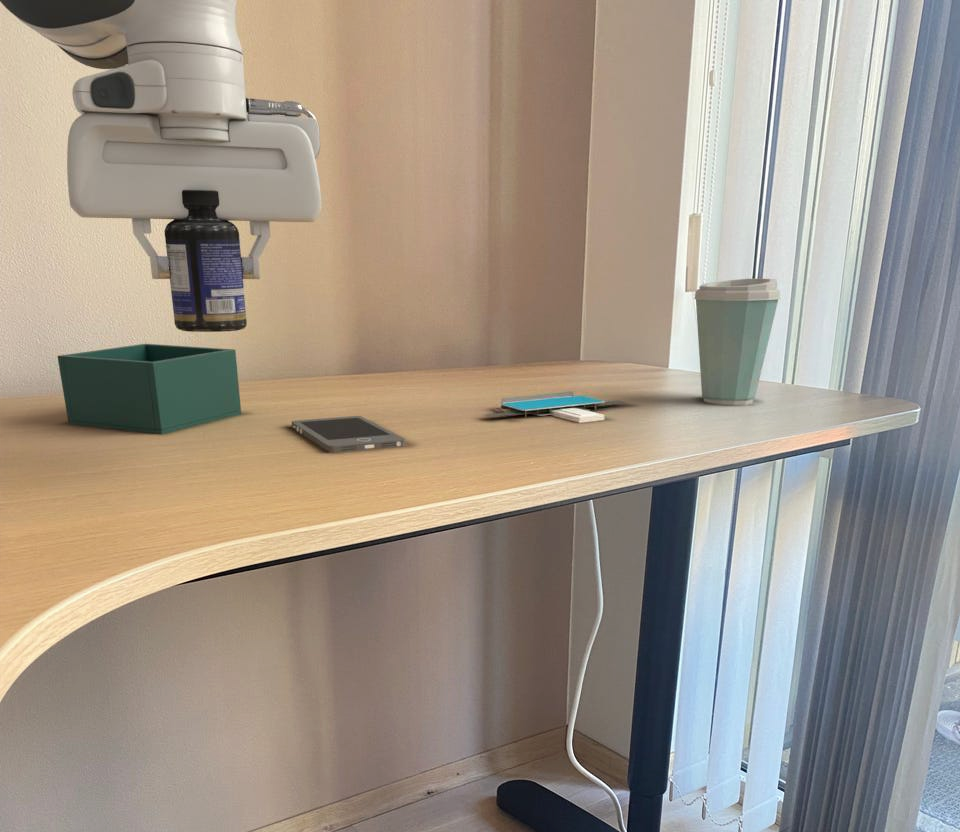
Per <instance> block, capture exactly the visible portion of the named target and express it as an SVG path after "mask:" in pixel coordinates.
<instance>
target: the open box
mask: <svg viewBox="0 0 960 832" xmlns="http://www.w3.org/2000/svg"><path fill="white" fill-rule="evenodd" d="M57 363H58V369H59V374H60V375H59V376H60V380H61V386H62V392H63V398H64V404H65V405H64V406H65V411H66V416H67V423H68V425H75V426H83V427H84V426H85V427H94V428H103V429H111V430H121V431H129V432H130V431H131V432H138V433H146V434H148V433H149V434H156V435H165V434H168V433H172V432H176V431H180V430H184V429H189V428H192V427H196V426H199V425H200V426H201V425H204V424H208V423H211V422H216V421H220V420H223V419H228V418H231V417H236V416H239V415H242V406H241V405H242V404H241V396H240V384H239V374H238V365H237V354H236V349H232V348H230V349H229V348H219V347H217V348H216V347H204V346H203V347H202V346H188V345H187V346H186V345H171V344H156V343H139V344H133V345H132V344H131V345H126V346H119V347H111V348H104V349H103V348H102V349H96V350H89V351H81V352H75V353H68V354H61V355H57Z"/></svg>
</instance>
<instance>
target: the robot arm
mask: <svg viewBox="0 0 960 832" xmlns="http://www.w3.org/2000/svg"><path fill="white" fill-rule="evenodd" d="M0 3H1V4H2V6H3V7H4V8H5V9H6V10H7V11H8V12H10V13H11V14H12V15H13V16H15V18H16V19H17V20H19V21H20V22H21V23H23V24H24V25H26V26H27V27H29V28H30V29H31V30H33V31H34V32H36V33H38V34H39V35H41V37H43V38H45V39H47V40H49V42H52V43H54V44H55V45H56V46H57V47H58V48H59V49H61V50H62V51H63V52H64V53H65V54H66V55H67V56H68V57H70V58H71V59H73V60H74V61H76V62H77V63H80V64H82V65H84V66H87V67H90V68H93V69H100V70H104V71H101V72H97V73H93V74H90V75H85V76H83V77H81V78H79V79H77V80H76V81H75V82H74V84H73V86H72V89H71V92H72V93H71V94H72V95H71V96H72V101H73V105H74V107H75V110H76V111H77V112H78V113H79V114H80V115H79V116H78V117H76V118H75V119H74V120H73V122H72V123H71V125H70V128H69V132H68V136H67V151H66V173H67V191H68V200H69V207H70V208H71V209H72V210H73V212H75V214H76V215H77V216H79V217H80V218H85V219H88V218H89V219H90V218H94V219H131V225H132V234H133V236H134V237H135V239H136V240H137V242H138V243H139V244H140V246H141V247H142V249H143V250H144V252H145V253H146V255H147V257H149V264H150V273H151V279H153V280H170V279H171V276H170V270H169V268H168V267H169V257H168V256H167V255H158V253H157V251H156V250H155V248H154V247H153V245H152V244H151V242H150V240H149V239H148V238H147V236H146V235H151V233H152V222H151V220H174V219H184V218H186V217H187V216H188V209H186V208H184V205H183V203H182V190H213V191H218V194H219V206H218V207H217V208H216V210H215V211H216V214H217V217H218V218H219V219H221V220H228V221H229V222H233V221H234V222H249V229H250V230H249V231H250V235H251V236H256V238H255V241H254V243H253V245H252V247H251V249H250V251H249V254H248V256H241V264H242V276H243V280H260V278H261V271H260V258H261V257H262V254H263V252H264V251H265V249H266V246H267V244H268V242H269V239H270V238H271V226H270V225H271V224H270V222H279V223H314V222H316V220H317V219H318V218H319V216H320V215H321V213H322V210H323V206H322V205H323V203H322V192H321V185H320V184H321V183H320V178H319V171H318V164H317V161H316V160H317V158H318V156H319V154H320V150H321V133H320V132H321V131H320V129H321V128H320V125H319V122H318V120H317V118H316V116H315V115H314V114H313V113H312V111H310V110H309V109H307V108H305V107H302V104H301V103H300V102H297V101H293V100H285V101H276V100H275V101H274V100H270V99H262V98H261V99H260V98H248V97H247V96H246V81H245V79H246V78H245V66H244V53H243V47H242V43H241V40H240V37H239V34H238V30H237V23H236V21H237V20H236V9H237V3H238V0H0ZM302 114H303V115H306V116H307V117H306V116H302Z"/></svg>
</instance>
